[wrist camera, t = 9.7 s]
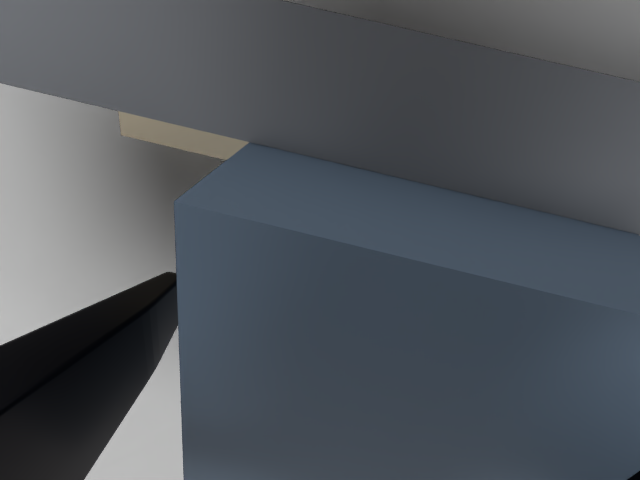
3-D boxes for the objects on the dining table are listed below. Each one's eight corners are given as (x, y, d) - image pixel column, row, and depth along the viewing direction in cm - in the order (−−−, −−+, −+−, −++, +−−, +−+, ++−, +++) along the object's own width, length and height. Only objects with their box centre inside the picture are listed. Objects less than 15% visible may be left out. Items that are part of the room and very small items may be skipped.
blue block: (516, 145, 10) (803, 353, 3) (422, 332, 14) (464, 594, 8) (307, 96, 10) (173, 201, 4) (274, 296, 15) (184, 520, 8)
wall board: (803, 130, 9) (1278, 226, 4) (694, 248, 11) (936, 403, 6) (82, -35, 9) (-212, -113, 5) (102, 107, 11) (-91, 153, 7)
